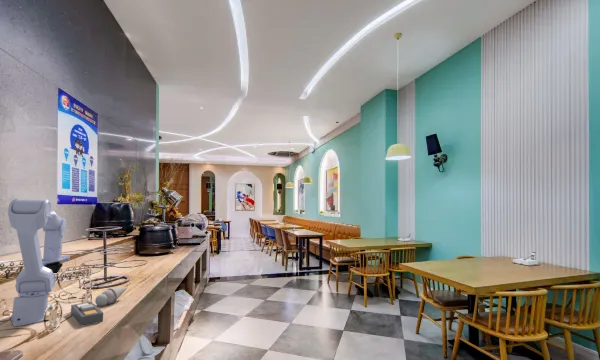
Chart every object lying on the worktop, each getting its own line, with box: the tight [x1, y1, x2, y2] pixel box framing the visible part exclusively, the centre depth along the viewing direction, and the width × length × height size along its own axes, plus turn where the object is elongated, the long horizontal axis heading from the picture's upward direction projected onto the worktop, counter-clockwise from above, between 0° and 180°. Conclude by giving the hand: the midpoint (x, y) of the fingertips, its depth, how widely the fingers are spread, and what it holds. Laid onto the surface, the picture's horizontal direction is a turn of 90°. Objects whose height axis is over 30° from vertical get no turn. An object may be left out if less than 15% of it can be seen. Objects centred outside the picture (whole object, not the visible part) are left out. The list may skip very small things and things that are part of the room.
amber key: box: [83, 310, 98, 315], centre depth 114 cm, size 4×4×1 cm
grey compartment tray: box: [70, 301, 104, 327], centre depth 118 cm, size 6×16×3 cm, turn 45°
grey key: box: [80, 304, 94, 311], centre depth 118 cm, size 4×4×1 cm
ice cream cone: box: [94, 286, 129, 307], centre depth 135 cm, size 6×6×15 cm
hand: (50, 282), depth 128 cm, fingers closed
